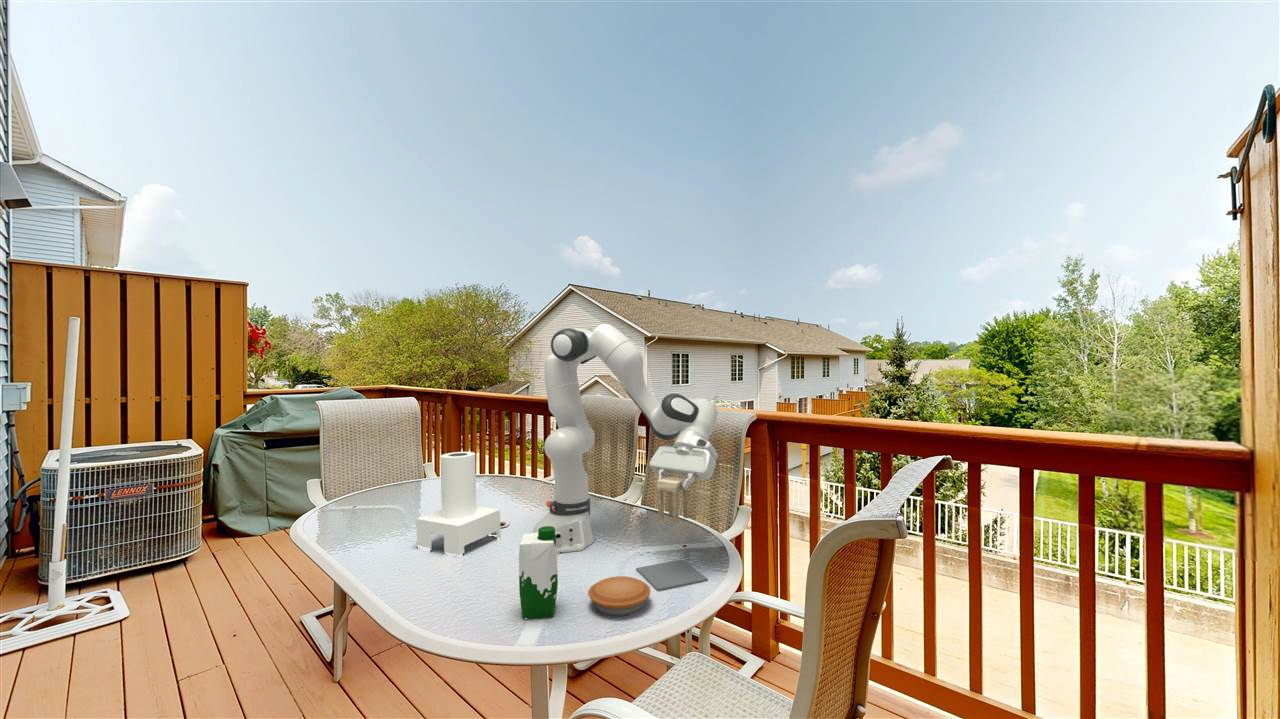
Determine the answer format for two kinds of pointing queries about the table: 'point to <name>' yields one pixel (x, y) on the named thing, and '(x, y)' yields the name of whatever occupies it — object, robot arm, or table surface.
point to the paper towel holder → (458, 508)
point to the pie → (619, 595)
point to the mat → (671, 575)
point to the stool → (672, 497)
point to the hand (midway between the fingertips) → (671, 486)
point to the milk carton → (538, 573)
